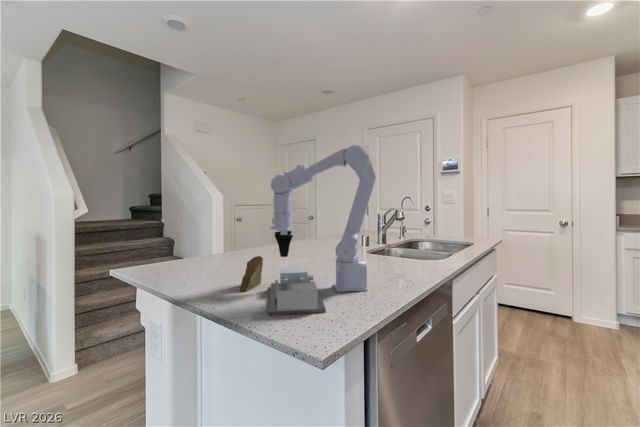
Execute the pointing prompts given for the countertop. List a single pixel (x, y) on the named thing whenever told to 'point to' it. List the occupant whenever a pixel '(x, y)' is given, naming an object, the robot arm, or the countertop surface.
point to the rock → (252, 274)
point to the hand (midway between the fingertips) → (283, 254)
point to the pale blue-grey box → (294, 275)
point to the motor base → (295, 299)
